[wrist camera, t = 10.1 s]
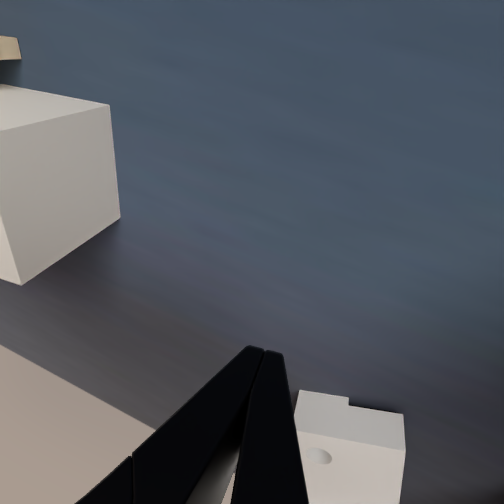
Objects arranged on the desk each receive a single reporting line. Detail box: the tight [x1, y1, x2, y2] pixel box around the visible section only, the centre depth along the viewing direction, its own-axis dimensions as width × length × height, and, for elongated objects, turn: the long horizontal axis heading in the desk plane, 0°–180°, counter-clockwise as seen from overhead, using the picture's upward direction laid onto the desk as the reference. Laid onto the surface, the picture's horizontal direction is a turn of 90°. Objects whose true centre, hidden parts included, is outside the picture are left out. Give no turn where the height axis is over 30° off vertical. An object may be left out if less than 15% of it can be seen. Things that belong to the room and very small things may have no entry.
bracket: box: [294, 390, 406, 504], centre depth 26 cm, size 13×7×8 cm, turn 8°
